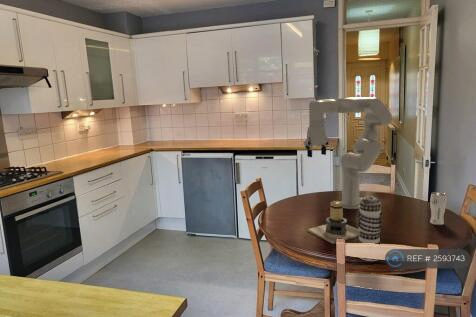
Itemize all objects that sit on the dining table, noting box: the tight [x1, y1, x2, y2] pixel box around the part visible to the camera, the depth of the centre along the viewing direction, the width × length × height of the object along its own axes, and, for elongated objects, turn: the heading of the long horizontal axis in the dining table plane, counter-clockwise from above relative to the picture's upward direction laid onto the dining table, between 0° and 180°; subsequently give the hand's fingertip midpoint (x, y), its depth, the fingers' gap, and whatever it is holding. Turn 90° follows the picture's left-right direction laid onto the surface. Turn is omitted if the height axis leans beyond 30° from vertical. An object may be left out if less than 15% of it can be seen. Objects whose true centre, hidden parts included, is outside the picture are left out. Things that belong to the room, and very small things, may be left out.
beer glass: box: [429, 191, 447, 226], centre depth 179 cm, size 7×7×15 cm
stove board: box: [307, 224, 360, 245], centre depth 173 cm, size 20×18×1 cm
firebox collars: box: [325, 216, 348, 235], centre depth 173 cm, size 9×9×6 cm
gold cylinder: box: [329, 200, 344, 230], centre depth 172 cm, size 6×6×14 cm
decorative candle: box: [357, 195, 383, 262], centre depth 146 cm, size 9×9×25 cm
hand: (316, 155), depth 195 cm, fingers open, 9 cm apart
